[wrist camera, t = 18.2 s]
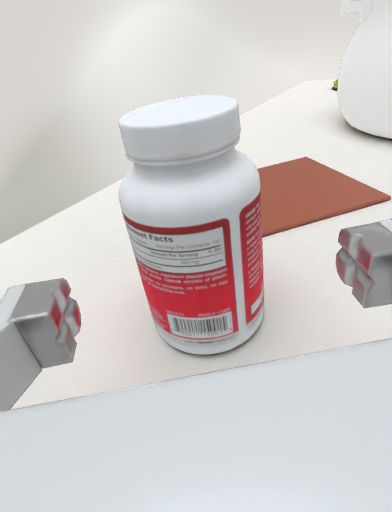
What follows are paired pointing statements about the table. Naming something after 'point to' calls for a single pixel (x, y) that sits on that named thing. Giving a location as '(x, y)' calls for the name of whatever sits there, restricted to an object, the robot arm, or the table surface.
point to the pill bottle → (194, 221)
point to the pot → (368, 68)
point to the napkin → (308, 194)
